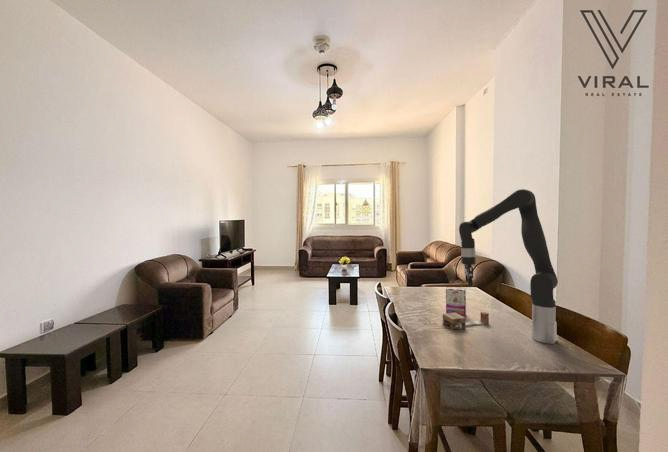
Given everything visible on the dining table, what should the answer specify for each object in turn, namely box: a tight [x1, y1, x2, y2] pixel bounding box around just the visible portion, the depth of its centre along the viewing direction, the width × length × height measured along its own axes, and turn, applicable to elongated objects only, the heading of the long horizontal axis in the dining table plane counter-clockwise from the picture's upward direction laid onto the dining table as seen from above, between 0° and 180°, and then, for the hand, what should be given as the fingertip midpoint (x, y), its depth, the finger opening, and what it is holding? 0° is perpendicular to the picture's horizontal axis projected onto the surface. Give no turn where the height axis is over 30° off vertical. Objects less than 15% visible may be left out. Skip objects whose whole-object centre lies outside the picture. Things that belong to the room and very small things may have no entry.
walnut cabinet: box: [442, 313, 467, 331], centre depth 159 cm, size 8×9×6 cm
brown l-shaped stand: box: [466, 311, 490, 327], centre depth 162 cm, size 15×4×6 cm, turn 102°
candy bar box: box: [445, 286, 467, 318], centre depth 178 cm, size 11×5×16 cm, turn 62°
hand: (469, 283), depth 167 cm, fingers open, 8 cm apart
